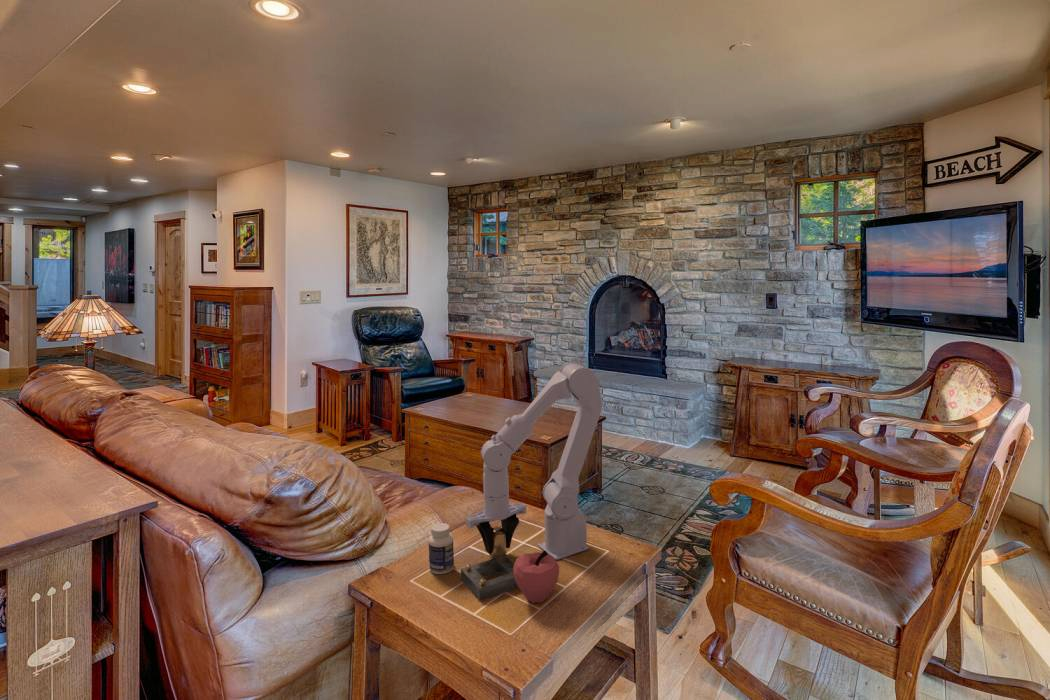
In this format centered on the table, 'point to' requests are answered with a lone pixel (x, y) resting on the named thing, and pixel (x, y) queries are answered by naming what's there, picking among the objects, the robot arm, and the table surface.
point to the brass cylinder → (498, 543)
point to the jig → (477, 572)
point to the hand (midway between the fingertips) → (497, 549)
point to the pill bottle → (441, 549)
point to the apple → (536, 575)
